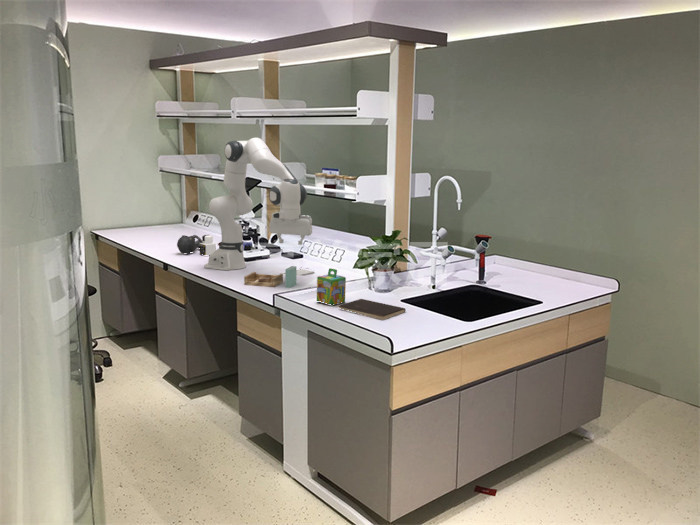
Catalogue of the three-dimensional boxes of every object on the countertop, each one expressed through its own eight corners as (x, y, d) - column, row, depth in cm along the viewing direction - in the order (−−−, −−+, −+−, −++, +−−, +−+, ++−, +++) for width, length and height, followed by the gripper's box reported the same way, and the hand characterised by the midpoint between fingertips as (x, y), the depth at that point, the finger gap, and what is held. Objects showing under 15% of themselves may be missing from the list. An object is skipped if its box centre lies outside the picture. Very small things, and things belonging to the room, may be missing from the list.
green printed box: (316, 302, 269) (316, 269, 266) (330, 298, 276) (330, 266, 273) (331, 306, 263) (331, 272, 260) (346, 302, 270) (346, 269, 267)
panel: (291, 284, 299) (291, 266, 298) (296, 284, 299) (296, 266, 297) (285, 288, 292) (285, 269, 290) (290, 288, 291) (290, 269, 289)
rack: (244, 286, 296) (244, 276, 295) (254, 281, 306) (253, 271, 305) (274, 289, 292) (274, 278, 291) (282, 284, 302) (282, 274, 301)
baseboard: (253, 280, 313) (269, 284, 305) (253, 274, 312) (269, 278, 304) (298, 271, 335) (314, 274, 327) (298, 265, 335) (314, 269, 327)
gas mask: (207, 264, 389) (184, 251, 367) (196, 262, 392) (172, 250, 370) (213, 242, 392) (190, 229, 370) (202, 241, 396) (178, 227, 373)
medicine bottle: (199, 254, 374) (199, 235, 372) (210, 253, 379) (209, 233, 377) (205, 256, 369) (205, 236, 367) (216, 255, 374) (215, 235, 372)
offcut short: (258, 281, 295) (258, 278, 295) (260, 280, 299) (260, 277, 299) (268, 282, 295) (268, 279, 294) (270, 280, 298) (270, 277, 298)
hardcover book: (382, 321, 245) (382, 315, 244) (337, 310, 259) (338, 305, 258) (405, 313, 257) (405, 307, 256) (361, 303, 271) (361, 298, 271)
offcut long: (254, 284, 296) (254, 281, 296) (257, 282, 300) (257, 279, 300) (267, 285, 295) (267, 282, 294) (270, 283, 298) (270, 280, 298)
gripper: (314, 214, 289) (314, 244, 292) (273, 212, 294) (273, 241, 297) (309, 216, 283) (309, 246, 286) (268, 214, 288) (268, 243, 291)
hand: (290, 243), depth 291 cm, fingers open, 8 cm apart
